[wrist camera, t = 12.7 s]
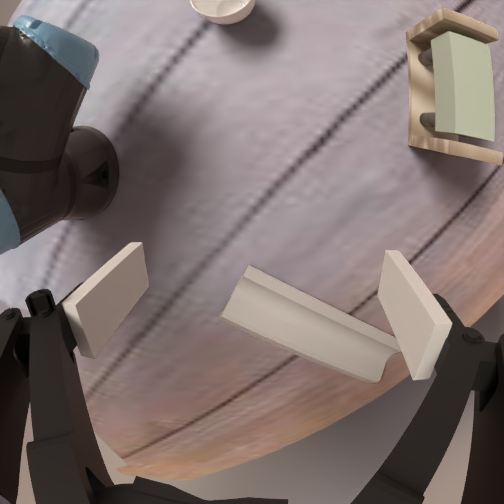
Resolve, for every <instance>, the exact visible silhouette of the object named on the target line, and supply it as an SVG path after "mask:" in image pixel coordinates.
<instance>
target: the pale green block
mask: <svg viewBox="0 0 504 504" xmlns="http://www.w3.org/2000/svg"><path fill="white" fill-rule="evenodd" d="M431 48H432V58H433V69H434V84H435V131H438V132H444V133H449V134H455V135H460V136H465V137H470V138H475V139H481V140H487V141H493V142H494V133H495V112H494V88H493V75H492V65H491V57H490V49H489V45H487V44H484V43H482V42H479V41H476V40H474V39H471V38H468V37H465V36H462V35H459V34H456V33H453V32H450V31H448V32H446V33H444V34H442V35H440V36H438V37H436V38H434V39H432V40H431Z"/></svg>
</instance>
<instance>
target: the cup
mask: <svg viewBox="0 0 504 504" xmlns="http://www.w3.org/2000/svg"><path fill="white" fill-rule="evenodd" d="M189 1H190V3H191V5H192V6H193V8H194V9H195V10H196V11H197V12H198V13H199V14H200V15H201V16H202V17H203V18H205V19H206V20H208V21H210V22H213V23H217V24H233V23H237V22H239V21H241V20H243V19H244V18H246V17H247V16H248V15H249V14H250V13H251V11H252V10H253V8H254V5H255V2H256V0H189Z"/></svg>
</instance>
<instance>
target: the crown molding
mask: <svg viewBox="0 0 504 504" xmlns="http://www.w3.org/2000/svg"><path fill="white" fill-rule="evenodd" d="M218 320H220V321H222V322H224V323H226V324H228V325H230V326H233V327H235V328H237V329H239V330H241V331H243V332H245V333H247V334H250V335H252V336H254V337H256V338H258V339H261V340H263V341H265V342H267V343H270V344H272V345H274V346H276V347H279V348H281V349H283V350H286V351H288V352H290V353H293V354H295V355H297V356H300V357H302V358H305V359H307V360H309V361H312V362H314V363H317V364H319V365H322V366H324V367H327V368H329V369H332V370H334V371H337V372H339V373H342V374H345V375H347V376H350V377H352V378H355V379H358V380H361V381H363V382H373V383H378V382H379V381H380V380H381V377H382V373H383V370H384V367H385V364H386V362H387V360H388V359H389V357H390V356H392V355H393V354H395V353H398V352H402V351H401V348H400V346H399V344H398V341H397V339H396V338H395V337H393V336H391V335H389V334H387V333H385V332H383V331H381V330H379V329H377V328H375V327H373V326H371V325H369V324H367V323H364V322H362V321H360V320H358V319H356V318H354V317H352V316H350V315H348V314H346V313H344V312H342V311H340V310H338V309H336V308H334V307H332V306H330V305H328V304H326V303H324V302H322V301H320V300H318V299H316V298H314V297H312V296H310V295H308V294H306V293H304V292H302V291H300V290H298V289H296V288H294V287H292V286H290V285H288V284H286V283H284V282H282V281H280V280H278V279H276V278H274V277H272V276H270V275H268V274H266V273H264V272H262V271H260V270H258V269H256V268H254V267H252V266H250V265H248V267H247V269H246V271H245V272H244V274H243V276H242V277H241V279H240V281H239V283H238V284H237V286H236V288H235V290H234V291H233V293H232V295H231V297H230V299H229V301H228V303H227V305H226V306H225V308H224V310H223V312H222V313H221V314H220V316H219V318H218Z"/></svg>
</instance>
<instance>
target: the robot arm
mask: <svg viewBox="0 0 504 504" xmlns="http://www.w3.org/2000/svg"><path fill="white" fill-rule="evenodd" d="M98 62H99V52H98V50H97V48H96V47H95V46H94V45H93V44H91V43H90V42H88V41H86V40H84V39H83V38H81V37H79V36H77V35H74V34H72V33H70V32H68V31H66V30H64V29H61V28H59V27H57V26H54V25H52V24H49V23H46V22H43V21H40V20H37V19H35V18H32V17H29V16H25V15H22V16H20V17H18V18H17V19H16V20H15V21H14V22H13V27H7V26H1V25H0V254H3V253H4V252H6V251H8V250H10V249H14V248H17V247H18V246H19V245H21V244H22V243H24V242H25V241H27V240H29V239H30V238H32V237H34V236H35V235H37V234H39V233H40V232H42V231H44V230H45V229H47V228H49V227H50V226H52V225H54V224H56V223H57V222H59V221H61V220H84V219H88V218H90V217H92V216H94V215H96V214H98V213H100V212H101V211H103V210H104V209H105V208H106V207H107V206H108V205H109V203H110V202H111V200H112V199H113V197H114V195H115V192H116V189H117V185H118V177H119V169H118V161H117V157H116V154H115V151H114V149H113V147H112V145H111V143H110V141H109V140H108V139H107V138H106V136H105V135H104V134H103V133H101V132H100V131H98V130H97V129H95V128H92V127H89V126H77V127H73V124H74V121H75V119H76V116H77V114H78V111H79V109H80V106H81V104H82V101H83V99H84V96H85V94H86V92H87V90H89V88H90V81H91V79H92V76H93V74H94V71H95V69H96V66H97V64H98ZM148 287H149V280H148V274H147V268H146V262H145V256H144V249H143V243H142V242H130V243H129V244H128V245H127V246H126V247H124V248H123V249H122V250H121V251H120V252H118V253H117V254H116V255H115V256H114V257H113V258H111V259H110V260H109V261H108V262H107V263H106V264H104V265H103V266H102V267H101V268H100V269H99V270H97V271H96V272H95V273H94V274H93V275H92V276H91V277H90V278H88V279H87V280H86V281H84V282H82V283H81V284H79V285H78V286H77V287H75V288H74V289H73V291H71V292H70V293H69V295H67V296H66V297H65V298H63V299H62V300H61V301H60V302H59V303H58V304H57V305H55V302H54V299H53V296H52V293H51V291H50V290H48V289H41V290H37V291H35V292H33V293H31V294H29V295H28V296H27V297H26V300H25V301H26V304H27V307H28V309H29V312H30V314H31V317H25V318H23V316H22V314H21V311H20V309H18V308H11V309H10V308H9V309H7V310H5V311H4V312H3V313H1V314H0V504H16V499H17V495H18V486H19V473H20V461H21V453H22V445H23V438H24V431H25V425H26V419H27V414H28V408H29V403H30V405H31V418H32V427H33V437H34V441H33V442H28V443H27V446H26V449H27V450H26V451H27V458H28V465H29V471H30V477H31V482H32V487H33V492H34V496H35V501H36V504H288V499H263V498H250V497H247V498H238V499H228V500H213V501H207V500H203V499H201V498H198V497H195V496H193V495H191V494H189V493H187V492H184V491H182V490H180V489H178V488H176V487H173V486H171V485H169V484H164V483H160V482H156V481H152V480H149V479H145V478H141V477H138V476H136V478H135V480H134V483H133V484H118V485H114V483H113V482H112V480H111V478H110V476H109V474H108V472H107V469H106V466H105V464H104V461H103V458H102V456H101V452H100V450H99V447H98V444H97V440H96V437H95V434H94V431H93V428H92V424H91V421H90V417H89V414H88V410H87V406H86V402H85V398H84V394H83V390H82V386H81V381H80V377H79V372H78V367H77V362H76V357H75V354H74V352H73V350H74V348H75V347H76V346H78V349H79V351H80V354H81V356H85V357H89V358H93V359H95V358H96V356H97V355H98V353H99V352H100V351H101V349H102V348H103V347H104V345H105V344H106V342H107V341H108V340H109V338H110V337H111V336H112V334H113V333H114V332H115V330H116V329H117V328H118V326H119V325H120V324H121V322H122V321H123V320H124V318H125V317H126V316H127V314H128V313H129V312H130V311H131V309H132V308H133V307H134V305H135V304H136V303H137V301H138V300H139V299H140V298H141V296H142V295H143V294H144V293H145V291H146V290H147V289H148ZM377 296H378V298H379V300H380V302H381V305H382V307H383V309H384V311H385V313H386V316H387V318H388V320H389V323H390V325H391V327H392V329H393V332H394V334H395V336H396V339H397V341H398V344H399V346H400V348H401V351H402V353H403V356H404V358H405V361H406V363H407V366H408V369H409V371H410V374H411V376H412V379H413V380H422V379H429V378H430V376H431V374H432V372H433V369H434V368H435V370H436V372H437V376H436V378H435V380H434V382H433V384H432V386H431V387H430V389H429V391H428V393H427V395H426V397H425V399H424V401H423V402H422V404H421V406H420V408H419V409H418V411H417V413H416V414H415V416H414V418H413V419H412V421H411V423H410V425H409V426H408V428H407V429H406V431H405V432H404V434H403V435H402V437H401V439H400V440H399V442H398V443H397V444H396V446H395V448H394V449H393V450H392V452H391V453H390V455H389V456H388V457H387V459H386V460H385V462H384V463H383V465H382V466H381V467H380V468H379V470H378V471H377V472H376V473H375V475H374V476H373V477H372V479H371V480H370V481H369V482H368V483H367V485H366V486H365V487H364V489H363V490H362V491H361V492H360V493H359V495H358V496H357V497H356V498H355V499H354V500H353V502H352V503H351V504H422V503H423V500H424V496H423V494H424V492H425V490H426V488H427V486H428V485H429V483H430V481H431V479H432V478H433V476H434V474H435V472H436V470H437V468H438V466H439V464H440V462H441V461H442V458H443V457H444V455H445V452H446V450H447V448H448V446H449V444H450V442H451V440H452V437H453V435H454V433H455V431H456V428H457V426H458V423H459V421H460V419H461V416H462V413H463V411H464V408H465V406H466V403H467V400H468V397H469V394H470V392H471V390H475V399H474V419H473V432H472V442H471V451H470V458H469V464H468V471H467V476H466V482H465V487H464V492H463V496H462V501H461V504H504V334H502V335H501V337H500V338H499V341H498V343H493V342H486V341H485V339H484V337H483V335H482V334H481V333H479V331H477V330H475V329H473V328H469V327H465V326H464V325H463V324H462V322H461V321H460V319H459V318H458V317H457V315H456V314H455V312H454V311H453V310H452V308H451V307H450V306H449V304H448V303H447V301H446V300H445V299H444V298H442V297H441V296H439V295H438V294H432V293H431V292H430V291H429V289H428V288H427V287H426V285H425V284H424V282H423V281H422V280H421V278H420V277H419V276H418V275H417V273H416V272H415V271H414V269H413V268H412V267H411V265H410V264H409V263H408V262H407V260H406V259H405V258H404V257H403V255H402V254H401V253H400V252H399V250H386V251H385V257H384V263H383V269H382V274H381V280H380V285H379V290H378V295H377Z"/></svg>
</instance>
